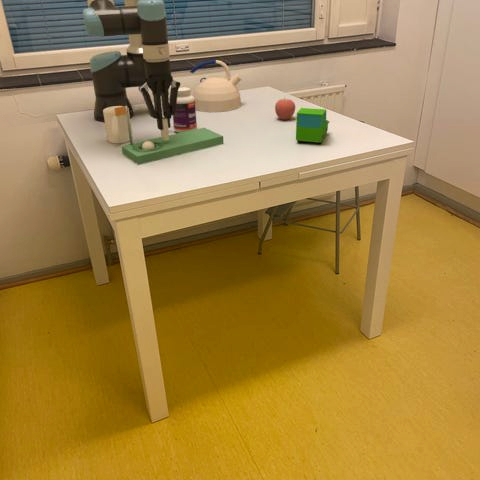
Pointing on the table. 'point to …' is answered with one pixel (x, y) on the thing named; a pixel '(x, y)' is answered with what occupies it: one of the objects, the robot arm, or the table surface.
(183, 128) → the pill bottle
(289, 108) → the apple
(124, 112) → the flag pin
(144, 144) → the ball
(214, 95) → the kettle
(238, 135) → the table surface
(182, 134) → the putting mat
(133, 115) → the robot arm
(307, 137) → the toy car
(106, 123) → the mug
